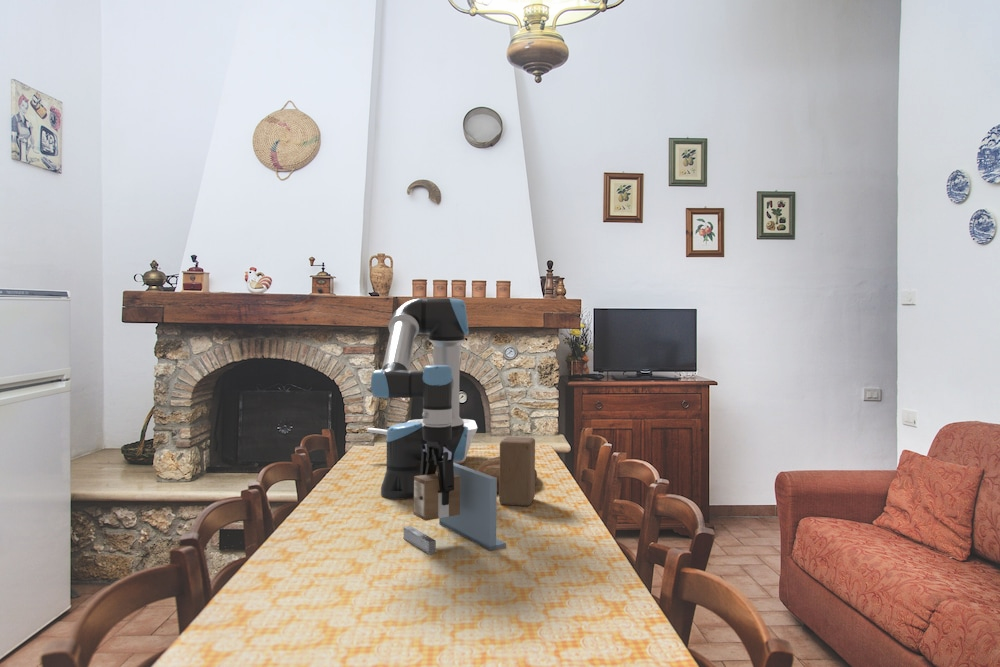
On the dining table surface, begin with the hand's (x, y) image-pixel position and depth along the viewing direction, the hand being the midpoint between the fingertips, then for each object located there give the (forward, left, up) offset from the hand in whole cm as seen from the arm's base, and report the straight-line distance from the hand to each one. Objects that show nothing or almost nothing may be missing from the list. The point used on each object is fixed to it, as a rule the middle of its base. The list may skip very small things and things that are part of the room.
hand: (436, 513), depth 173 cm
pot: (-91, +43, -8) cm, 101 cm away
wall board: (0, +11, -7) cm, 13 cm away
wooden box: (0, 0, 0) cm, 0 cm away
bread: (-44, +52, -8) cm, 68 cm away
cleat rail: (0, -5, -7) cm, 9 cm away
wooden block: (-20, +40, -8) cm, 46 cm away
